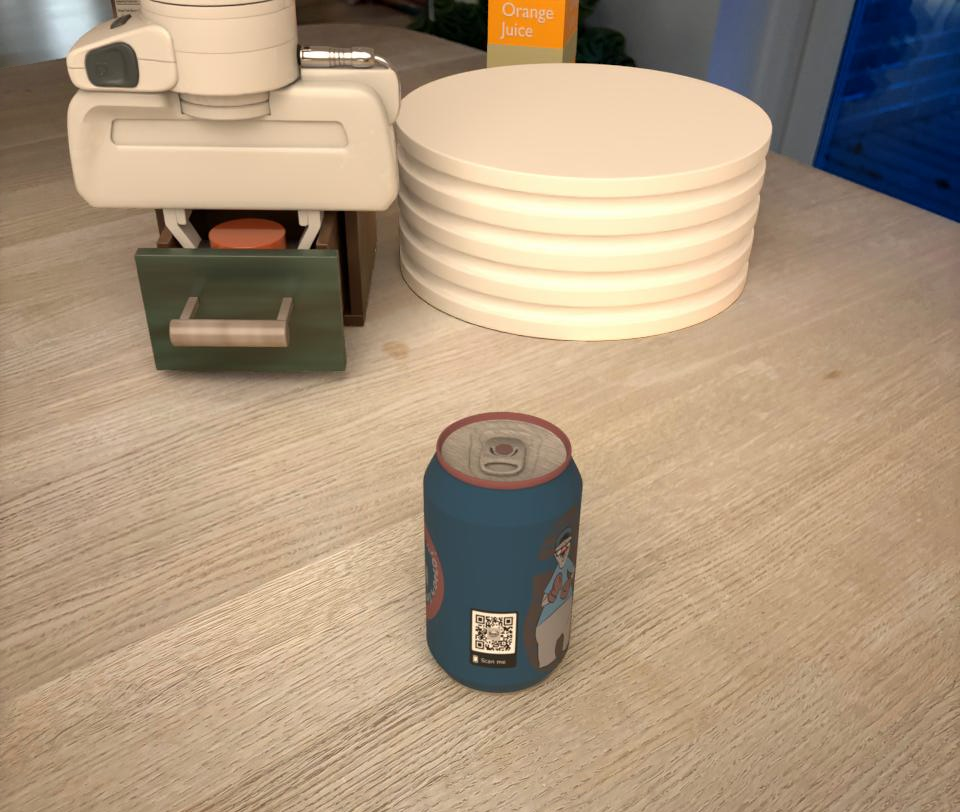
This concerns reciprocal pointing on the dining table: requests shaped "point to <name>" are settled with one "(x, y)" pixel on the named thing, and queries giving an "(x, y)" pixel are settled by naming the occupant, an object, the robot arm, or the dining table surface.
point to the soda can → (500, 550)
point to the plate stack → (578, 198)
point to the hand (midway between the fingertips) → (251, 271)
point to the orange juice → (531, 32)
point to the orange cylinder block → (248, 235)
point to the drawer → (247, 298)
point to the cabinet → (359, 261)
